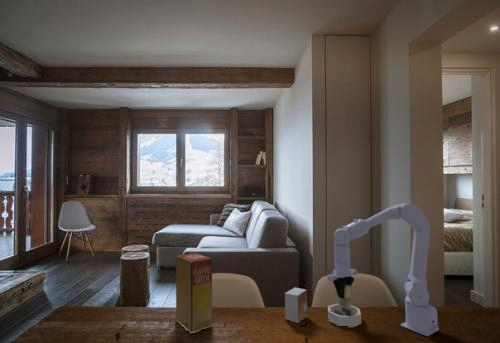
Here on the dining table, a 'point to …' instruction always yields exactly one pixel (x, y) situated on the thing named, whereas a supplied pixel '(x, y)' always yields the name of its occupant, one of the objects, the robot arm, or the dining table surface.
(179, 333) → the dining table surface
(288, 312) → the small box
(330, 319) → the bowl
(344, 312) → the clip
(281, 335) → the dining table surface
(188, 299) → the food packaging
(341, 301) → the wood grain plank
